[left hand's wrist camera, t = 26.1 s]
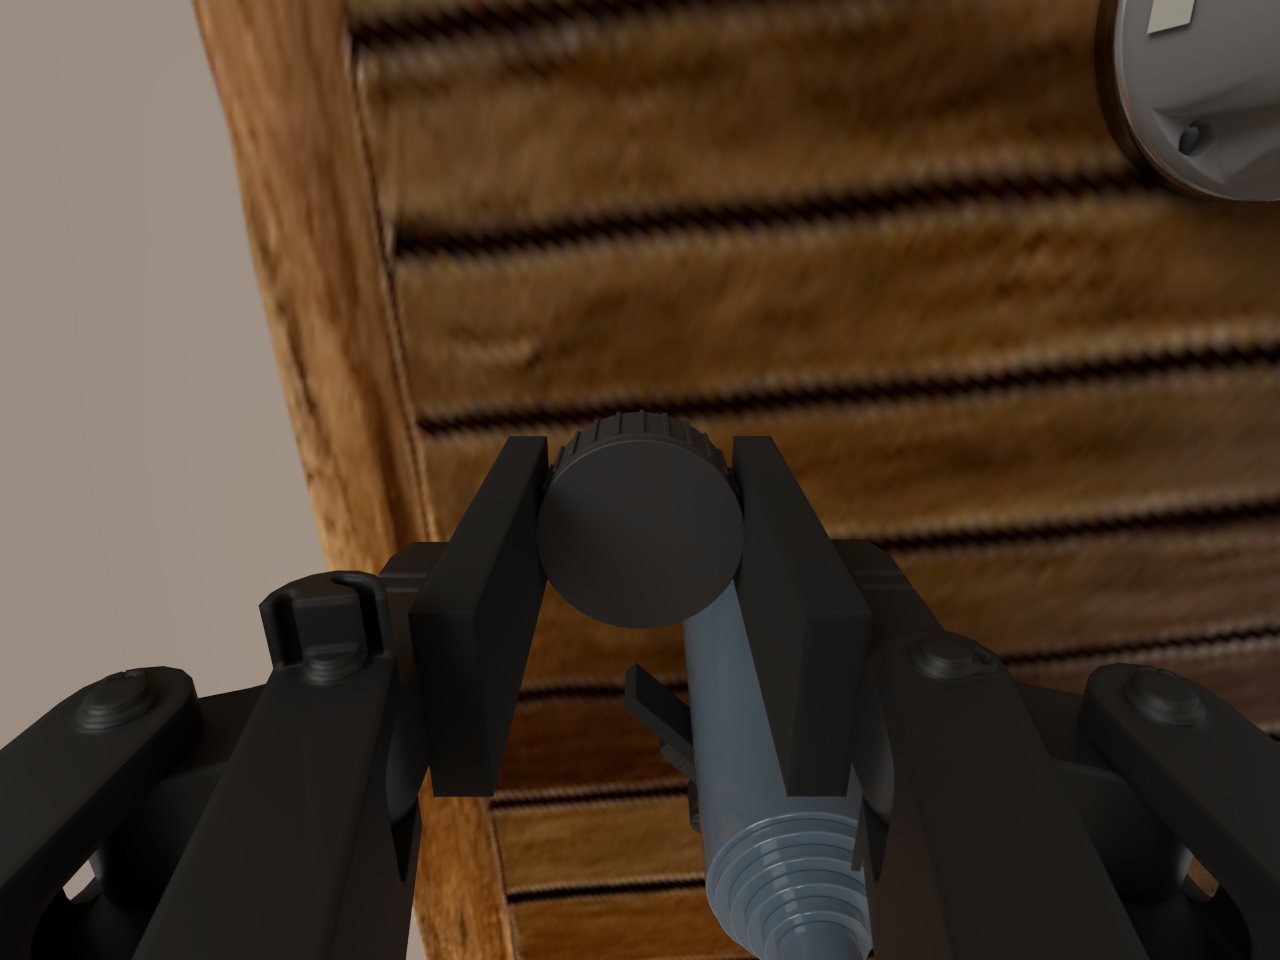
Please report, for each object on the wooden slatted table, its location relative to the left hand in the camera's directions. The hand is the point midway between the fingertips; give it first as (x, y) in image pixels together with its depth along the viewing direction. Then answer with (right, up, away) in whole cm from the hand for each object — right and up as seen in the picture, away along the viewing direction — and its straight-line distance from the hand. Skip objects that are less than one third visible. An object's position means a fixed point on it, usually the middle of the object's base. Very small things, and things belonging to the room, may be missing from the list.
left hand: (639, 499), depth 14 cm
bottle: (+6, -8, +25) cm, 27 cm away
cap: (0, -1, -2) cm, 2 cm away
